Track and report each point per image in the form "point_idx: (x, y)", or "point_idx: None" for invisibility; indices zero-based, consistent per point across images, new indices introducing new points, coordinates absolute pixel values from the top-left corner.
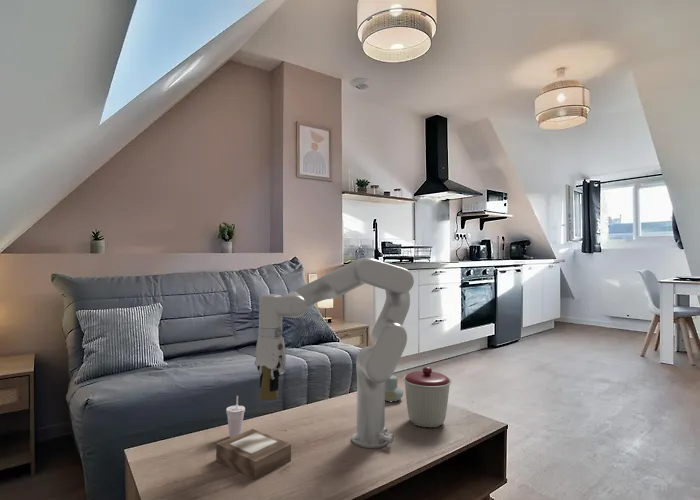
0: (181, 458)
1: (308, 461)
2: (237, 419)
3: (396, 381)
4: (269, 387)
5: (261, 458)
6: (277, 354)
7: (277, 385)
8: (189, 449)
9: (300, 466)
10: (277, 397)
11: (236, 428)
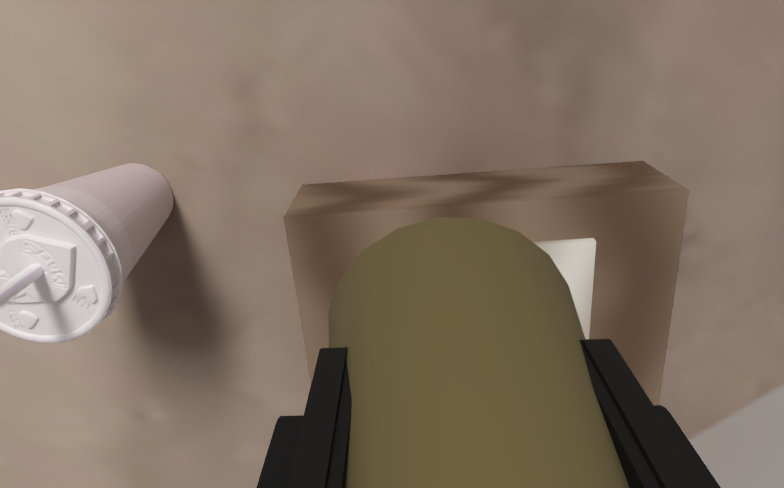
0: (212, 470)
1: (740, 94)
2: (131, 264)
3: None
4: None
5: (656, 403)
6: None
7: (677, 436)
8: (145, 417)
9: (731, 166)
10: (566, 282)
11: (152, 238)
